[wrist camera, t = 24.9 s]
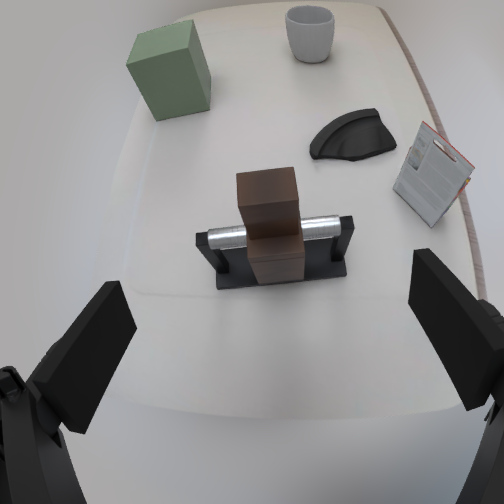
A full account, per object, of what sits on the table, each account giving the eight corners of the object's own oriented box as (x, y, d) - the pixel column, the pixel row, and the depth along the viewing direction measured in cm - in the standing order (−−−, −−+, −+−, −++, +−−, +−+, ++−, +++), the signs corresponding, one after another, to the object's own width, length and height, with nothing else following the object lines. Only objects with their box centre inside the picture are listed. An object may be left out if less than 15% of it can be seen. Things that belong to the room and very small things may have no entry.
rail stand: (217, 289, 40) (190, 261, 30) (216, 252, 42) (191, 214, 32) (346, 276, 38) (362, 243, 28) (340, 239, 40) (352, 195, 30)
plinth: (156, 121, 52) (125, 64, 40) (162, 87, 56) (137, 34, 43) (209, 110, 51) (188, 47, 38) (210, 76, 55) (193, 19, 42)
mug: (336, 67, 52) (338, 25, 43) (289, 67, 53) (286, 25, 44) (327, 35, 56) (327, -2, 47) (286, 36, 58) (283, -2, 48)
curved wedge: (297, 131, 47) (297, 124, 46) (372, 113, 47) (374, 106, 45) (318, 171, 44) (318, 165, 43) (397, 150, 44) (400, 143, 42)
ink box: (406, 176, 42) (436, 107, 29) (444, 214, 39) (489, 155, 26) (390, 189, 42) (419, 120, 28) (430, 229, 39) (475, 170, 25)
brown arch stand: (258, 284, 36) (234, 228, 22) (254, 231, 38) (231, 156, 25) (303, 279, 35) (306, 220, 22) (297, 226, 37) (294, 148, 24)
